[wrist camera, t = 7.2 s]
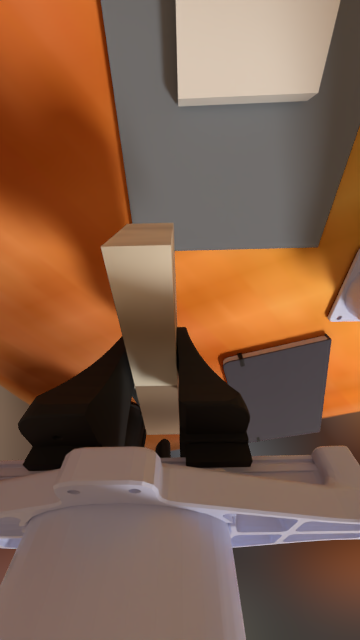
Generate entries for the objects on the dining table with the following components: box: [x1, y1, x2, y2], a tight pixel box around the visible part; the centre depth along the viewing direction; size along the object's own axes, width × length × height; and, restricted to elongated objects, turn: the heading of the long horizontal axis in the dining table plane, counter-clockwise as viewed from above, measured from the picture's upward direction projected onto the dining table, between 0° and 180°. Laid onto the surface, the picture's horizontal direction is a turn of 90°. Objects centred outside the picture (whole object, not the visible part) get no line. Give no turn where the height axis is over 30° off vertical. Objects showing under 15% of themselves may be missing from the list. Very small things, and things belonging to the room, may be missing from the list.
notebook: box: [223, 334, 331, 443], centre depth 30 cm, size 13×2×21 cm
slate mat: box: [101, 0, 360, 251], centre depth 13 cm, size 16×18×1 cm
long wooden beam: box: [101, 223, 180, 435], centre depth 13 cm, size 14×2×4 cm, turn 1°
